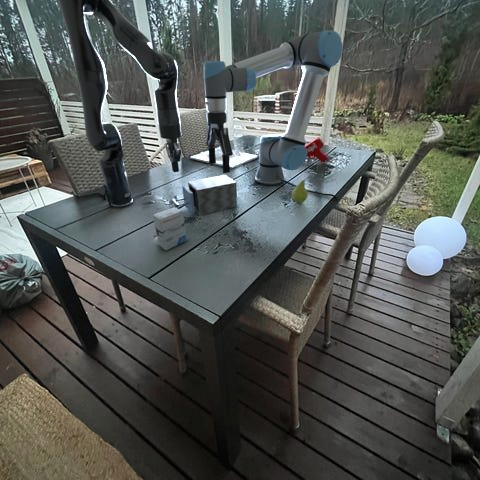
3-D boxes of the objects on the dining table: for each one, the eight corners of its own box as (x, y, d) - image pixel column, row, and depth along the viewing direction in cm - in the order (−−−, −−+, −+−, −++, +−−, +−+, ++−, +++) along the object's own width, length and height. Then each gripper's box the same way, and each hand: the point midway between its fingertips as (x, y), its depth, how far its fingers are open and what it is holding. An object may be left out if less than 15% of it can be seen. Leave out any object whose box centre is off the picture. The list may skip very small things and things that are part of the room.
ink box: (179, 235, 98) (174, 206, 91) (187, 241, 95) (183, 210, 88) (158, 245, 93) (151, 214, 86) (165, 250, 90) (159, 219, 83)
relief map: (232, 168, 162) (231, 159, 159) (190, 158, 179) (189, 150, 177) (257, 157, 180) (257, 149, 177) (217, 149, 198) (217, 142, 195)
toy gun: (331, 157, 168) (319, 136, 164) (331, 159, 164) (318, 137, 160) (306, 172, 178) (294, 153, 174) (305, 174, 174) (292, 154, 170)
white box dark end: (199, 215, 111) (197, 190, 105) (190, 205, 119) (187, 181, 113) (236, 206, 118) (236, 182, 112) (225, 197, 126) (224, 174, 120)
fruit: (288, 200, 123) (290, 174, 116) (302, 197, 125) (305, 172, 119) (296, 206, 118) (299, 179, 111) (310, 203, 120) (314, 177, 114)
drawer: (178, 218, 108) (175, 196, 103) (171, 208, 115) (168, 188, 110) (227, 206, 116) (227, 185, 111) (218, 198, 124) (217, 178, 118)
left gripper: (153, 120, 97) (161, 168, 106) (163, 126, 87) (171, 178, 97) (173, 119, 100) (179, 165, 109) (185, 124, 90) (191, 175, 100)
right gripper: (195, 108, 108) (199, 161, 119) (221, 116, 89) (223, 178, 101) (212, 106, 111) (215, 158, 122) (241, 114, 92) (241, 175, 104)
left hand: (175, 171), depth 103 cm, fingers closed
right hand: (219, 167), depth 111 cm, fingers open, 13 cm apart
